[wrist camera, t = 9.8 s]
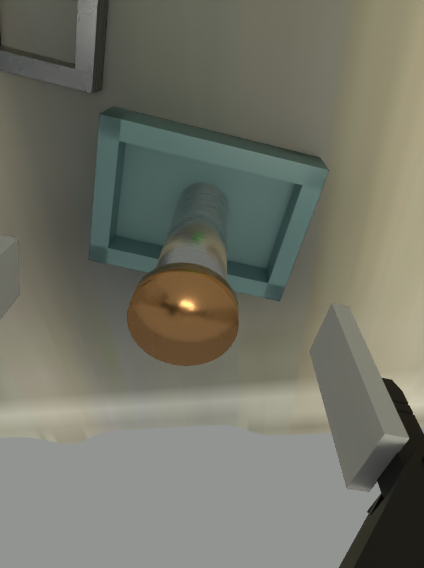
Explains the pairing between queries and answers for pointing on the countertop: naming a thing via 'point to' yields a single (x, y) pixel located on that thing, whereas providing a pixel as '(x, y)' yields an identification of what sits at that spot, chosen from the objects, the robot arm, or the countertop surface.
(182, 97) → the countertop surface
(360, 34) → the countertop surface
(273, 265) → the tray
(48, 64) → the grey metal square frame
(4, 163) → the countertop surface
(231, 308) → the pin
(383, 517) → the robot arm
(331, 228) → the countertop surface
